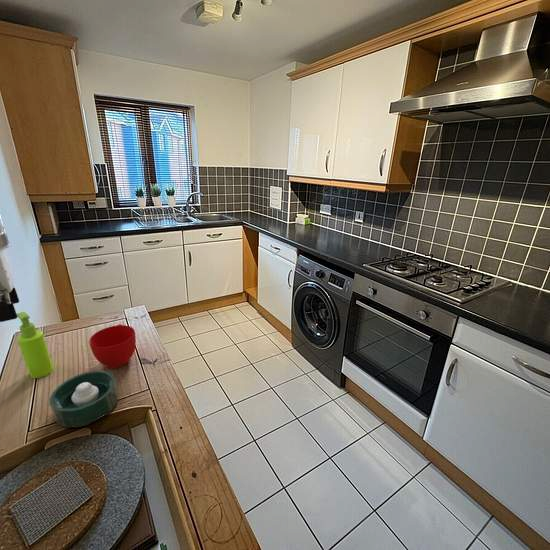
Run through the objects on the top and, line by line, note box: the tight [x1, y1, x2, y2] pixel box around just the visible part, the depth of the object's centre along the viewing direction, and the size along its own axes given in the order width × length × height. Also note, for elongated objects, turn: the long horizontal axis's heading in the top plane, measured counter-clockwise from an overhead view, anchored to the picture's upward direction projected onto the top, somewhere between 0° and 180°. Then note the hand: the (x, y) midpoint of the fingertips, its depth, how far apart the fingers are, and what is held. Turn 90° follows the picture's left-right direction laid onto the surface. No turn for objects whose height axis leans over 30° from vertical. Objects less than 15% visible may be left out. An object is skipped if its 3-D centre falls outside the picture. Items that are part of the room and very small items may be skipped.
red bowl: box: [88, 323, 137, 369], centre depth 96 cm, size 13×17×10 cm
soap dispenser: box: [16, 311, 54, 379], centre depth 88 cm, size 6×7×20 cm
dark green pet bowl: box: [49, 370, 120, 428], centre depth 78 cm, size 15×15×6 cm
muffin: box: [72, 382, 99, 407], centre depth 77 cm, size 6×6×7 cm
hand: (10, 311), depth 69 cm, fingers open, 9 cm apart
